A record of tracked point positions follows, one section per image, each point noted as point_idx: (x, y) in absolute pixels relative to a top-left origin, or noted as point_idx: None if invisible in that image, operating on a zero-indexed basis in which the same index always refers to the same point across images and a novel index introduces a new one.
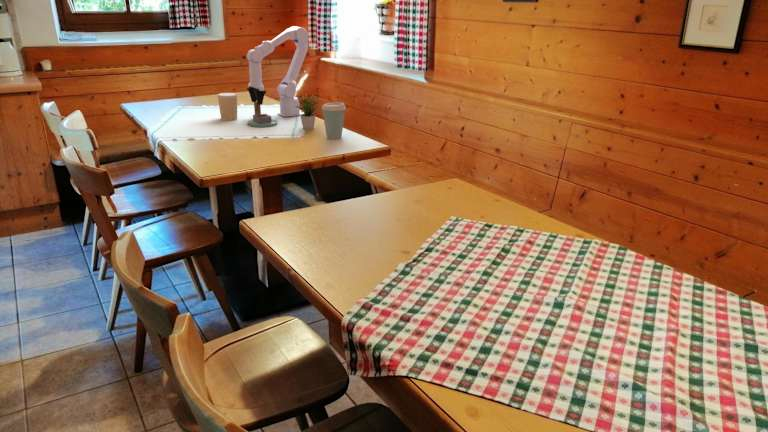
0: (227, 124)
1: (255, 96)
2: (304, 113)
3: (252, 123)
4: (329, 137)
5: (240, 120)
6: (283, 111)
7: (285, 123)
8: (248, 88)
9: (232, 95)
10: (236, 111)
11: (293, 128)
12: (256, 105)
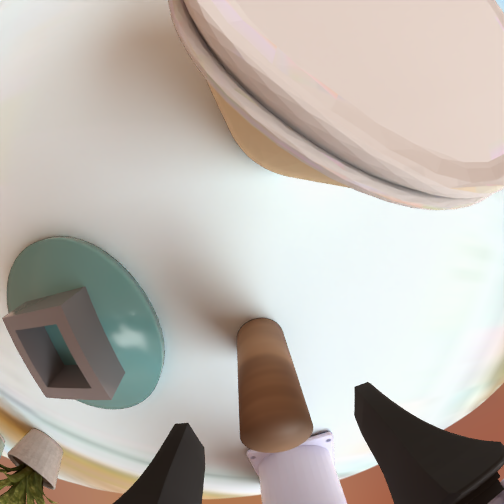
0: (93, 94)
1: (379, 452)
2: (16, 467)
3: (31, 268)
4: None
5: (201, 193)
6: (271, 470)
7: (101, 424)
8: (453, 498)
9: (206, 11)
10: (265, 164)
11: (30, 409)
12: (241, 404)
